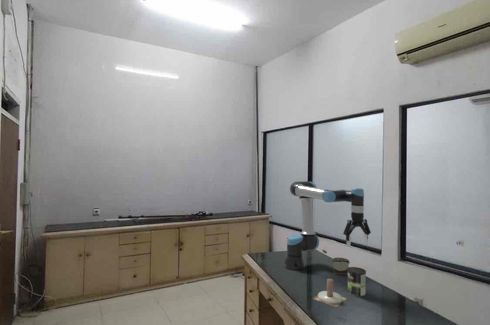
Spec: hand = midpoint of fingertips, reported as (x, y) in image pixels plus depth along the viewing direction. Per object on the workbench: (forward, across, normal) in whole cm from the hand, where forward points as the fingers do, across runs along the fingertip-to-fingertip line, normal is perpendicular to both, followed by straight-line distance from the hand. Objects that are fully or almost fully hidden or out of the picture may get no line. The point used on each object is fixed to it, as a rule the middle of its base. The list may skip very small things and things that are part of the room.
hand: (357, 245), depth 182 cm
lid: (+25, -29, -11) cm, 40 cm away
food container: (+26, +5, +22) cm, 35 cm away
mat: (+26, -29, -11) cm, 41 cm away
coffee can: (+26, -9, -10) cm, 29 cm away
